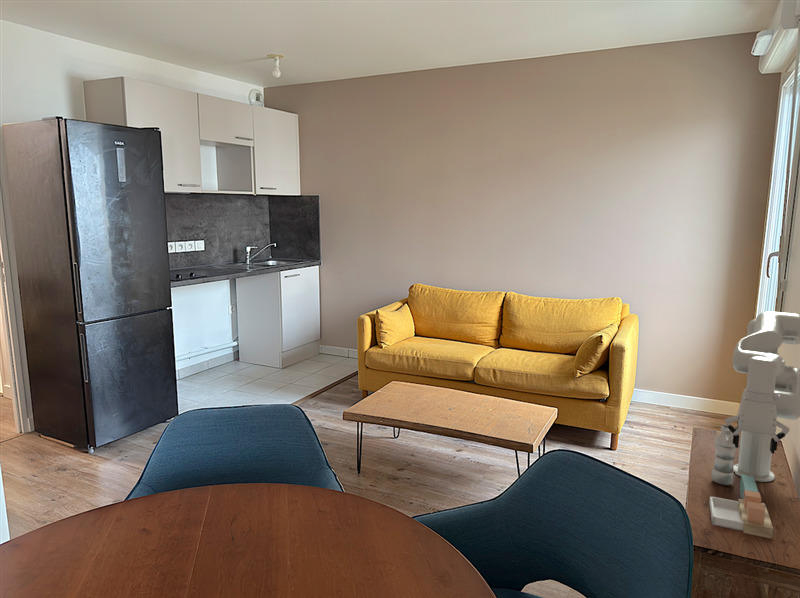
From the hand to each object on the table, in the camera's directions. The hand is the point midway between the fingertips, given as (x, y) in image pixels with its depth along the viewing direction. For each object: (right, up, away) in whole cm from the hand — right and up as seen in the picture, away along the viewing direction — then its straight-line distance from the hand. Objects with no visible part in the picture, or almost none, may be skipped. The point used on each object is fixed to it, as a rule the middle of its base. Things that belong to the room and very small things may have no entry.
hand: (753, 449), depth 179 cm
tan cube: (-5, -15, -7) cm, 18 cm away
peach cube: (-9, -16, -14) cm, 23 cm away
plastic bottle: (-2, -16, +15) cm, 21 cm away
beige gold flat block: (-7, -19, -11) cm, 23 cm away
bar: (0, -17, +3) cm, 18 cm away
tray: (-13, -18, -7) cm, 24 cm away
